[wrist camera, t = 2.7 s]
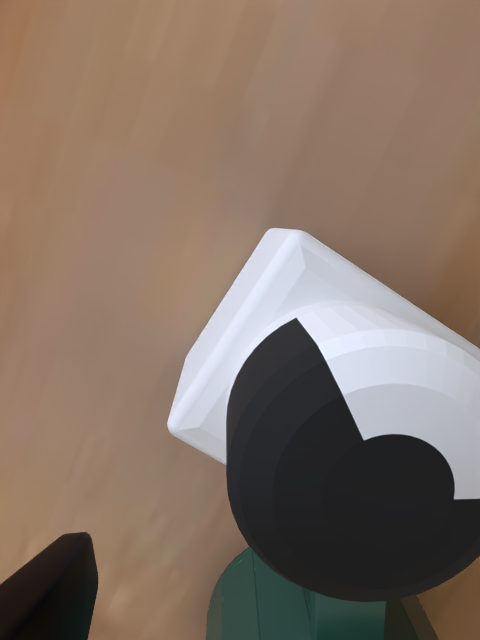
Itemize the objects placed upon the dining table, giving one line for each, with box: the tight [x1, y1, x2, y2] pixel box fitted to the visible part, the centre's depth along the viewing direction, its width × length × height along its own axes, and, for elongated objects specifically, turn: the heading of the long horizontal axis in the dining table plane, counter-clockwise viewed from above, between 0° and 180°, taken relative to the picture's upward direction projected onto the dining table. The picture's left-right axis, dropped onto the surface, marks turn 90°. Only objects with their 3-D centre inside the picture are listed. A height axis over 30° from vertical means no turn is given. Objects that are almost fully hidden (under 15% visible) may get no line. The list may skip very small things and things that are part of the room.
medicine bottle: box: [167, 228, 480, 602], centre depth 14 cm, size 7×7×12 cm
